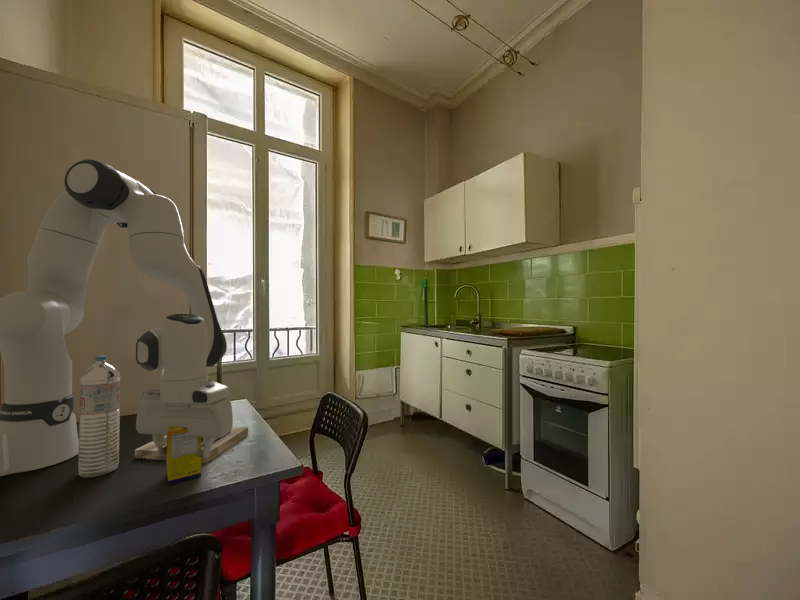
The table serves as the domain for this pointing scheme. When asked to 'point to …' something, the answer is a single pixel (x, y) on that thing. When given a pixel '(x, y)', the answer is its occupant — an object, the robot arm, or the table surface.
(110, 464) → the water bottle
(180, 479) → the supplement box
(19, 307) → the robot arm
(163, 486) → the table surface
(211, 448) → the socket block
